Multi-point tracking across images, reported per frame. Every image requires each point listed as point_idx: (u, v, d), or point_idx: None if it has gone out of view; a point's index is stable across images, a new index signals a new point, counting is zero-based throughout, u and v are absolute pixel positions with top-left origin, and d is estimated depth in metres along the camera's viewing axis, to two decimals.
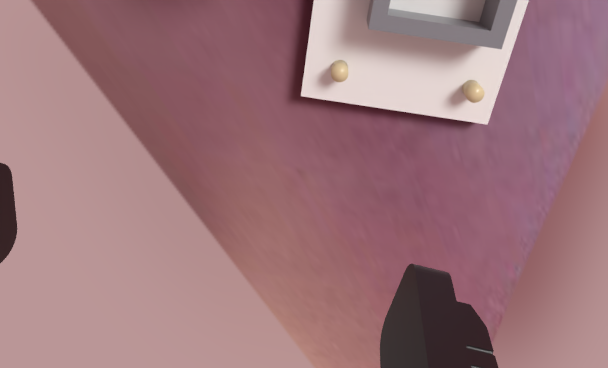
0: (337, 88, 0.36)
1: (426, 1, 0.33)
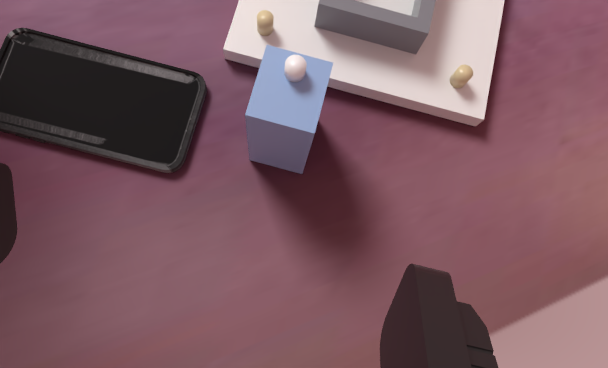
0: (476, 85, 0.37)
1: (402, 6, 0.38)
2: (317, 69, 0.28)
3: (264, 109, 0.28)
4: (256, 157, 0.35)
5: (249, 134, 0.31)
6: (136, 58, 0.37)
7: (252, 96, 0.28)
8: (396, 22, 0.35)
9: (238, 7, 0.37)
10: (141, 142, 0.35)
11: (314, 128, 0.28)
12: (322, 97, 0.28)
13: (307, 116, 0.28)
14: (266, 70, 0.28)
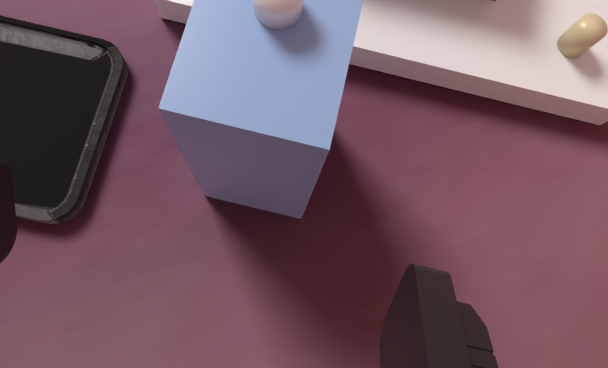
0: (604, 53, 0.21)
1: None
2: (330, 0, 0.12)
3: (206, 95, 0.11)
4: (216, 193, 0.19)
5: (186, 152, 0.14)
6: None
7: (177, 64, 0.12)
8: None
9: None
10: None
11: (328, 137, 0.11)
12: (344, 63, 0.12)
13: (310, 108, 0.12)
14: (211, 4, 0.12)
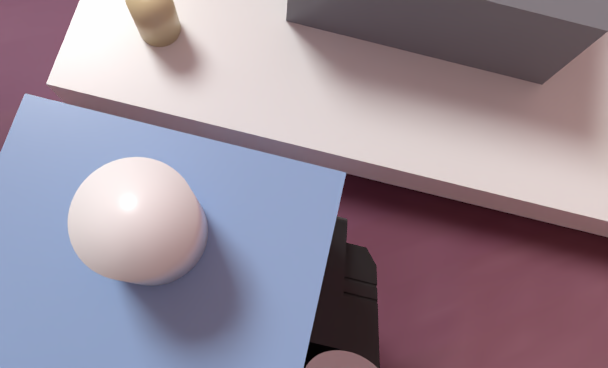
0: None
1: None
2: (270, 210, 0.06)
3: None
4: None
5: None
6: None
7: None
8: (515, 1, 0.12)
9: None
10: None
11: None
12: (295, 363, 0.05)
13: None
14: (10, 230, 0.06)
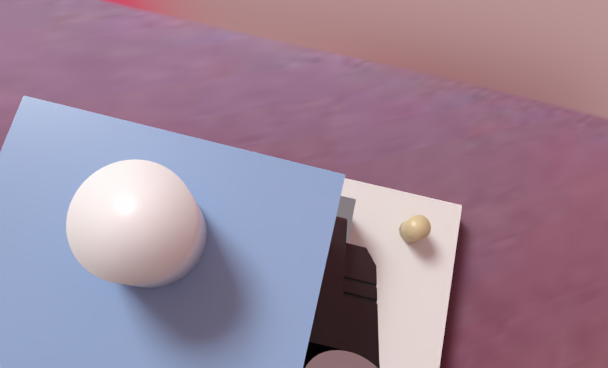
0: None
1: None
2: (268, 212, 0.06)
3: None
4: None
5: None
6: None
7: None
8: None
9: None
10: None
11: None
12: (294, 365, 0.05)
13: None
14: (9, 231, 0.06)
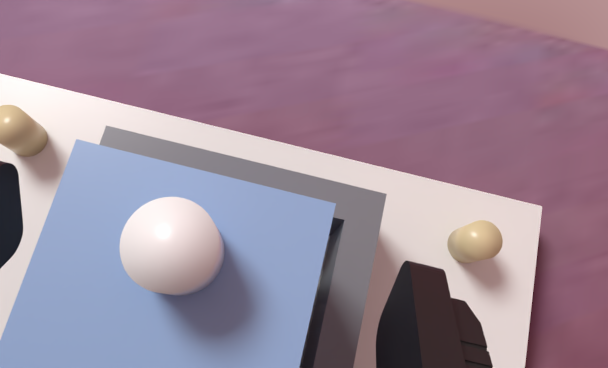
0: None
1: None
2: (274, 234, 0.07)
3: None
4: None
5: None
6: None
7: None
8: None
9: None
10: None
11: None
12: (294, 357, 0.07)
13: None
14: (66, 250, 0.07)
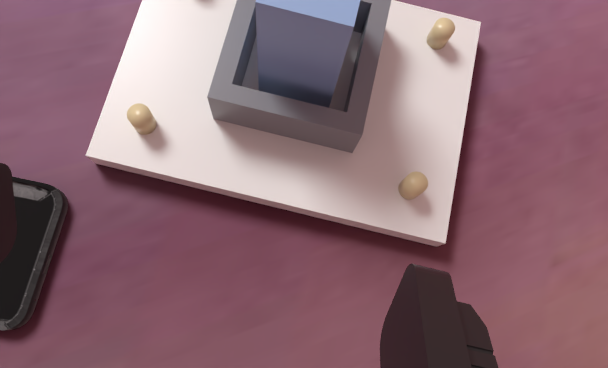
0: (435, 194, 0.28)
1: None
2: None
3: None
4: (268, 90, 0.27)
5: (260, 44, 0.23)
6: None
7: None
8: (317, 120, 0.25)
9: (109, 95, 0.28)
10: None
11: (353, 20, 0.20)
12: None
13: (342, 4, 0.20)
14: None
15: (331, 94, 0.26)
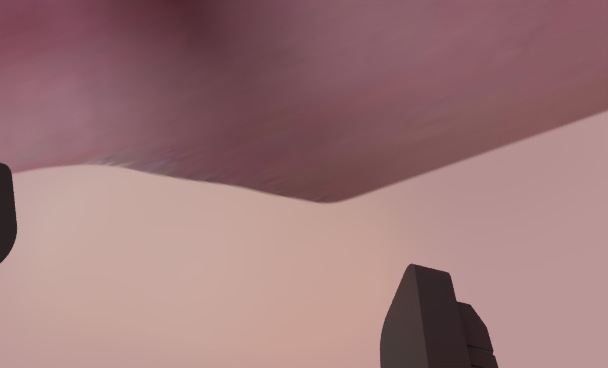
0: None
1: None
2: None
3: None
4: None
5: None
6: None
7: None
8: None
9: None
10: None
11: None
12: None
13: None
14: None
15: None
